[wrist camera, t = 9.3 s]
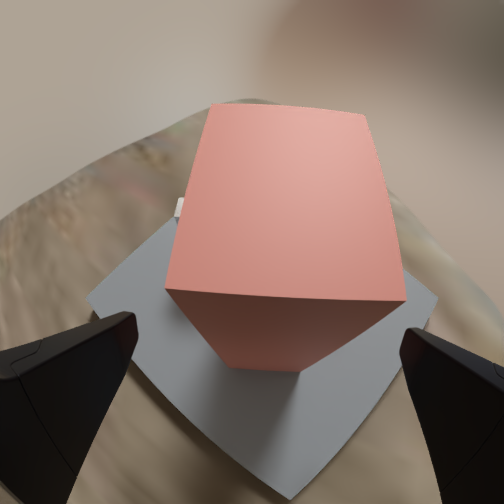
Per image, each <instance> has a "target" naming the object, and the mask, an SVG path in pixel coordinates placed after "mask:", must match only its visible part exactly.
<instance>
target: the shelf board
mask: <svg viewBox="0 0 504 504" xmlns="http://www.w3.org/2000/svg"><path fill="white" fill-rule="evenodd" d="M177 226H178V225H177V223H176V220H175V218H174V217H173V218H171V219H170V220H169V221H168V222H167V223H166V224H164V225H163V226H162V227H161V228H160V229H159V230H157V231H156V232H155V233H154V234H153V235H152V236H151V237H150V238H148V239H147V240H146V241H145V242H144V243H143V244H142V245H141V246H139V247H138V248H137V249H136V250H135V251H134V252H133V253H132V254H131V255H130V256H128V257H127V258H126V259H125V260H124V261H123V262H122V263H121V264H120V265H119V266H118V267H117V268H116V269H115V270H113V271H112V272H111V273H110V274H109V275H108V276H107V277H106V278H105V279H104V280H103V281H102V282H101V283H100V284H99V285H98V286H97V287H96V288H95V289H94V290H93V291H92V292H91V293H90V294H89V295H88V296H87V297H86V299H87V301H88V302H89V304H90V305H91V307H92V308H93V309H94V311H95V312H96V314H97V315H98V316H99V318H100V319H102V318H105V317H107V316H110V315H113V314H116V313H119V312H122V311H128V312H133V313H134V314H135V315H136V319H137V326H138V333H139V339H138V342H137V345H136V347H135V350H134V353H133V355H132V358H131V359H132V360H133V361H134V362H135V363H136V364H137V366H138V367H139V368H140V369H141V370H142V371H143V373H144V374H145V375H146V376H147V377H148V378H149V379H150V380H151V381H152V383H153V384H154V385H155V386H156V387H157V388H158V389H159V390H160V391H161V392H162V393H163V394H164V395H165V396H166V397H167V398H168V400H169V401H170V402H171V403H172V404H173V405H174V406H175V407H176V408H177V409H178V410H179V411H180V412H181V413H182V414H183V415H184V416H186V417H187V418H188V419H189V420H190V421H191V422H192V423H193V424H194V425H195V426H196V427H197V428H198V429H199V430H200V431H201V432H203V433H204V434H205V435H206V436H207V437H208V438H209V439H210V440H212V441H213V442H214V443H215V444H216V445H217V446H218V447H220V448H221V449H222V450H223V451H224V452H226V453H227V454H228V455H229V456H230V457H232V458H233V459H234V460H235V461H237V462H238V463H239V464H240V465H242V466H243V467H244V468H245V469H247V470H248V471H249V472H251V473H252V474H253V475H255V476H256V477H257V478H259V479H260V480H261V481H263V482H264V483H266V484H267V485H268V486H270V487H271V488H273V489H274V490H276V491H277V492H279V493H280V494H282V495H283V496H285V497H286V498H288V499H289V500H291V499H292V498H293V497H294V496H295V495H297V494H298V493H299V492H300V491H301V490H302V489H303V488H304V487H305V486H306V485H307V484H308V483H309V482H310V481H311V480H312V479H313V478H314V477H315V476H316V475H317V474H318V473H319V472H320V471H321V470H322V469H323V468H324V466H325V465H326V464H327V463H328V462H329V461H330V460H331V459H332V458H333V457H334V455H335V454H336V453H337V452H338V451H339V450H340V449H341V447H342V446H343V445H344V444H345V443H346V442H347V440H348V439H349V438H350V437H351V436H352V434H353V433H354V432H355V431H356V429H357V428H358V427H359V426H360V424H361V423H362V422H363V421H364V419H365V418H366V417H367V415H368V414H369V413H370V411H371V410H372V409H373V407H374V406H375V404H376V403H377V402H378V400H379V399H380V397H381V396H382V395H383V393H384V392H385V390H386V389H387V387H388V386H389V384H390V383H391V381H392V380H393V378H394V377H395V375H396V374H397V372H398V371H399V369H400V367H401V366H402V363H401V359H400V355H399V349H400V345H401V342H402V339H403V336H404V333H405V330H406V329H407V328H412V327H418V328H420V329H422V330H423V328H424V326H425V324H426V322H427V320H428V318H429V317H430V315H431V313H432V311H433V309H434V307H435V305H436V303H437V300H438V297H437V296H436V295H435V294H433V293H432V292H431V291H430V290H429V289H427V288H426V287H425V286H424V285H423V284H421V283H420V282H419V281H418V280H416V279H415V278H414V277H413V276H412V275H410V274H409V273H408V272H407V271H405V270H404V269H403V275H404V282H405V290H406V298H407V301H406V302H405V303H403V304H402V305H401V306H399V307H398V308H397V309H395V310H394V311H393V312H391V313H390V314H389V315H387V316H386V317H384V318H383V319H382V320H380V321H379V322H378V323H376V324H375V325H373V326H372V327H370V328H369V329H368V330H366V331H365V332H363V333H362V334H360V335H359V336H357V337H356V338H354V339H353V340H351V341H350V342H348V343H347V344H345V345H344V346H342V347H341V348H339V349H337V350H336V351H334V352H333V353H331V354H330V355H328V356H326V357H325V358H323V359H321V360H320V361H318V362H316V363H315V364H313V365H311V366H310V367H308V368H306V369H305V370H303V371H301V372H289V371H266V370H250V369H237V368H229V367H228V366H227V365H226V364H225V363H224V361H223V360H222V359H221V358H220V357H219V356H218V355H217V353H216V352H215V351H214V350H213V349H212V347H211V346H210V345H209V344H208V343H207V341H206V340H205V339H204V338H203V337H202V335H201V334H200V333H199V332H198V331H197V329H196V328H195V327H194V326H193V324H192V323H191V322H190V321H189V319H188V318H187V317H186V316H185V314H184V313H183V312H182V311H181V309H180V308H179V307H178V305H177V304H176V303H175V302H174V300H173V299H172V298H171V296H170V295H169V294H168V292H167V291H166V290H165V288H164V287H165V282H166V277H167V272H168V267H169V262H170V257H171V253H172V248H173V244H174V239H175V235H176V230H177Z"/></svg>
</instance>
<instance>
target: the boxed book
mask: <svg viewBox="0 0 504 504" xmlns="http://www.w3.org/2000/svg"><path fill="white" fill-rule="evenodd" d="M164 288H165V290H166V291H167V292H168V294H169V295H170V296H171V298H172V299H173V300H174V302H175V303H176V304H177V305H178V307H179V308H180V309H181V311H182V312H183V313H184V314H185V316H186V317H187V318H188V319H189V321H190V322H191V323H192V324H193V326H194V327H195V328H196V329H197V331H198V332H199V333H200V334H201V335H202V337H203V338H204V339H205V340H206V341H207V343H208V344H209V345H210V346H211V347H212V349H213V350H214V351H215V352H216V353H217V355H218V356H219V357H220V358H221V359H222V360H223V361H224V363H225V364H226V365H227V366H228V367H229V368H237V369H250V370H266V371H289V372H301V371H303V370H305V369H306V368H308V367H310V366H311V365H313V364H315V363H316V362H318V361H320V360H321V359H323V358H325V357H326V356H328V355H330V354H331V353H333V352H334V351H336V350H337V349H339V348H341V347H342V346H344V345H345V344H347V343H348V342H350V341H351V340H353V339H354V338H356V337H357V336H359V335H360V334H362V333H363V332H365V331H366V330H368V329H369V328H370V327H372V326H373V325H375V324H376V323H378V322H379V321H380V320H382V319H383V318H384V317H386V316H387V315H389V314H390V313H391V312H393V311H394V310H395V309H397V308H398V307H399V306H401V305H402V304H403V303H405V302H406V301H407V298H406V290H405V282H404V275H403V268H402V261H401V255H400V249H399V244H398V238H397V233H396V228H395V223H394V219H393V214H392V209H391V205H390V201H389V196H388V192H387V188H386V184H385V181H384V177H383V173H382V170H381V166H380V162H379V159H378V156H377V152H376V149H375V146H374V142H373V139H372V136H371V133H370V130H369V127H368V124H367V121H366V118H365V115H361V114H355V113H348V112H340V111H333V110H326V109H317V108H307V107H296V106H282V105H264V104H212V105H211V108H210V111H209V114H208V117H207V120H206V123H205V126H204V130H203V133H202V136H201V140H200V143H199V146H198V150H197V153H196V157H195V160H194V164H193V167H192V171H191V175H190V178H189V182H188V186H187V190H186V194H185V198H184V201H183V205H182V209H181V214H180V218H179V222H178V226H177V230H176V235H175V239H174V244H173V248H172V253H171V257H170V262H169V267H168V272H167V277H166V282H165V287H164Z"/></svg>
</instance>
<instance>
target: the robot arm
mask: <svg viewBox="0 0 504 504" xmlns="http://www.w3.org/2000/svg"><path fill="white" fill-rule="evenodd" d="M138 339H139V333H138V326H137V319H136V315H135V314H134V313H133V312H128V311H122V312H119V313H116V314H113V315H110V316H107V317H105V318H102V319H99V320H96V321H93V322H90V323H87V324H84V325H81V326H78V327H75V328H73V329H70V330H67V331H64V332H61V333H58V334H55V335H52V336H49V337H46V338H43V339H40V340H37V341H34V342H31V343H28V344H24V345H21V346H18V347H14V348H10V349H7V350H3V351H0V504H66V503H67V500H68V498H69V496H70V493H71V491H72V488H73V486H74V484H75V481H76V479H77V477H76V476H78V474H79V471H80V469H81V467H82V464H83V462H84V460H85V458H86V455H87V453H88V451H89V449H90V447H91V444H92V442H93V440H94V438H95V436H96V434H97V431H98V429H99V427H100V425H101V423H102V421H103V419H104V417H105V415H106V413H107V411H108V408H109V406H110V404H111V402H112V400H113V398H114V396H115V394H116V392H117V390H118V388H119V386H120V384H121V382H122V380H123V378H124V376H125V374H126V371H127V369H128V366H129V363H130V361H131V358H132V355H133V353H134V350H135V347H136V345H137V342H138ZM399 355H400V359H401V363H402V367H403V371H404V375H405V379H406V383H407V386H408V390H409V393H410V396H411V399H412V402H413V404H414V407H415V410H416V413H417V416H418V419H419V422H420V425H421V428H422V431H423V434H424V437H425V440H426V444H427V447H428V450H429V454H430V457H431V461H432V464H433V468H434V471H435V475H436V479H437V483H438V487H439V491H440V496H441V500H442V504H504V367H502V366H500V365H498V364H496V363H492V362H491V361H489V360H487V359H485V358H483V357H480V356H478V355H476V354H474V353H472V352H470V351H467V350H465V349H463V348H461V347H459V346H457V345H455V344H452V343H450V342H448V341H446V340H444V339H442V338H440V337H437V336H435V335H433V334H431V333H429V332H427V331H424V330H422V329H420V328H418V327H412V328H407V329H406V330H405V333H404V336H403V339H402V342H401V345H400V349H399Z"/></svg>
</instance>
